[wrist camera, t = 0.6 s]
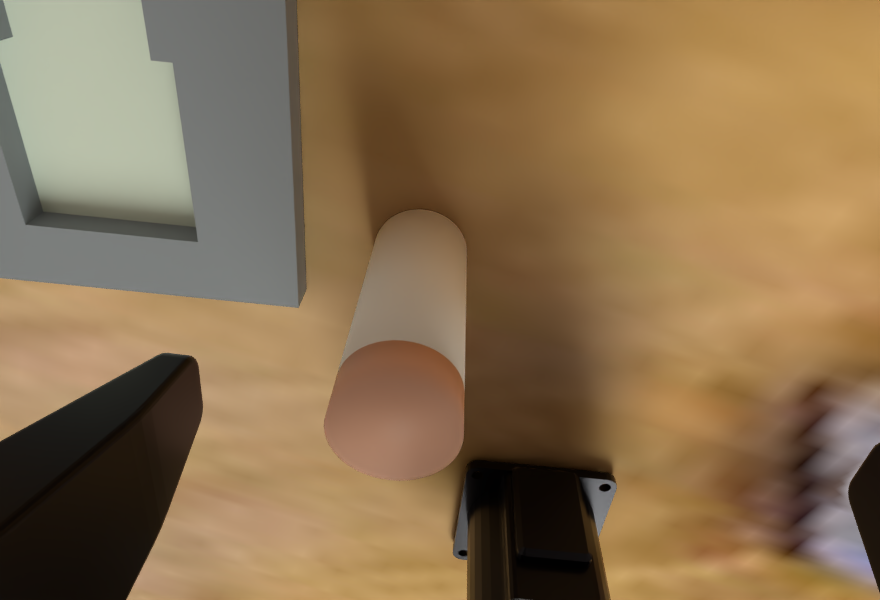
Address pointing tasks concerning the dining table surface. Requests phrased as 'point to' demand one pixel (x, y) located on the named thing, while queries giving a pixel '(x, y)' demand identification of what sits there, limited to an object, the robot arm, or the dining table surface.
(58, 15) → the keyhole plate
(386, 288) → the cream peg
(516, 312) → the dining table surface
